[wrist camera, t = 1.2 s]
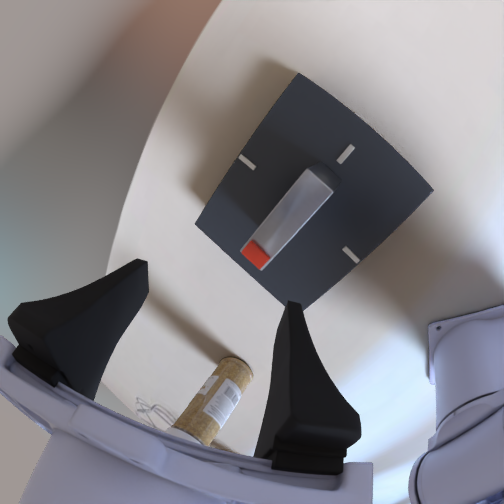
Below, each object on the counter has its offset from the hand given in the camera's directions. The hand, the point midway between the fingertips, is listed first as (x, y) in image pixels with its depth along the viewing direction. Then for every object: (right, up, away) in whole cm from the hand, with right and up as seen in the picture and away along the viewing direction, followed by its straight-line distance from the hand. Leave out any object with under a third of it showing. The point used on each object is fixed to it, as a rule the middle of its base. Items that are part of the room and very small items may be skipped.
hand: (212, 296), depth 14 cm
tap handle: (+5, +5, +5) cm, 9 cm away
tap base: (+6, +6, +7) cm, 11 cm away
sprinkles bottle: (0, -12, +19) cm, 23 cm away
